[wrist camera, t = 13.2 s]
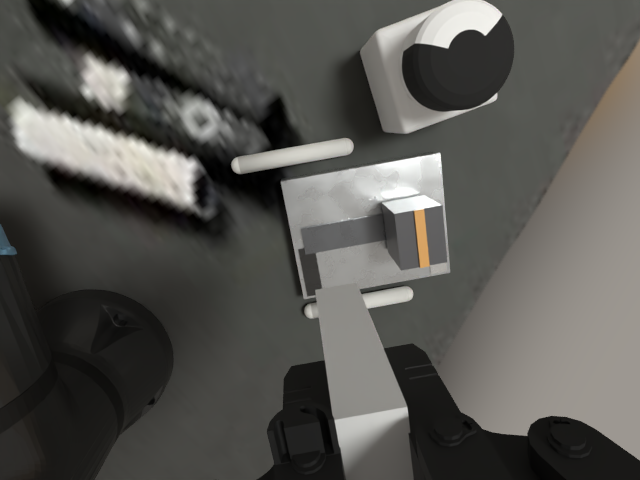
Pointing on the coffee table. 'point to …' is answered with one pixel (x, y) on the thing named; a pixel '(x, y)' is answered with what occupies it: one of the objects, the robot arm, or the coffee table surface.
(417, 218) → the toggle
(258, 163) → the cord near
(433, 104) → the container
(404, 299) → the rod
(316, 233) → the panel
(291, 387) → the robot arm
